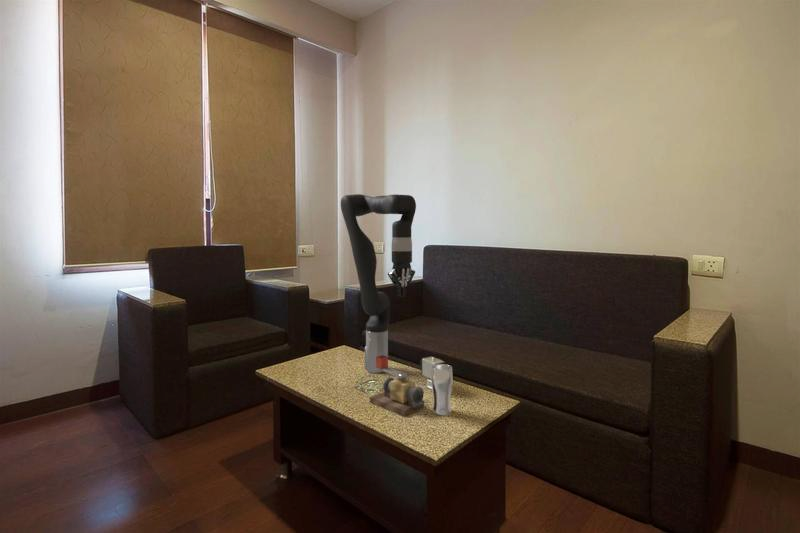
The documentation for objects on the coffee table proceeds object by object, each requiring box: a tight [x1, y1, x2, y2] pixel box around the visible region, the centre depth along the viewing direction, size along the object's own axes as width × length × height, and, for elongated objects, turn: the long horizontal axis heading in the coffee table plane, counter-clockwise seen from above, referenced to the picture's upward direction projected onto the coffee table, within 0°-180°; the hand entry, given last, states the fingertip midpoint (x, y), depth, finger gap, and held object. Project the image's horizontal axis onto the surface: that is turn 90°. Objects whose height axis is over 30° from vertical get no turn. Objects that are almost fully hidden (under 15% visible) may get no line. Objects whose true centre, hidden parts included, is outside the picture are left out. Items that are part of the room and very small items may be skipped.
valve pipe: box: [369, 376, 425, 417], centre depth 145 cm, size 17×10×10 cm, turn 47°
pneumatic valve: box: [419, 356, 447, 390], centre depth 160 cm, size 6×12×12 cm, turn 34°
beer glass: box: [430, 363, 454, 416], centre depth 140 cm, size 7×7×15 cm
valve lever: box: [376, 355, 408, 379], centre depth 148 cm, size 14×3×5 cm, turn 43°
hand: (401, 296), depth 158 cm, fingers closed
